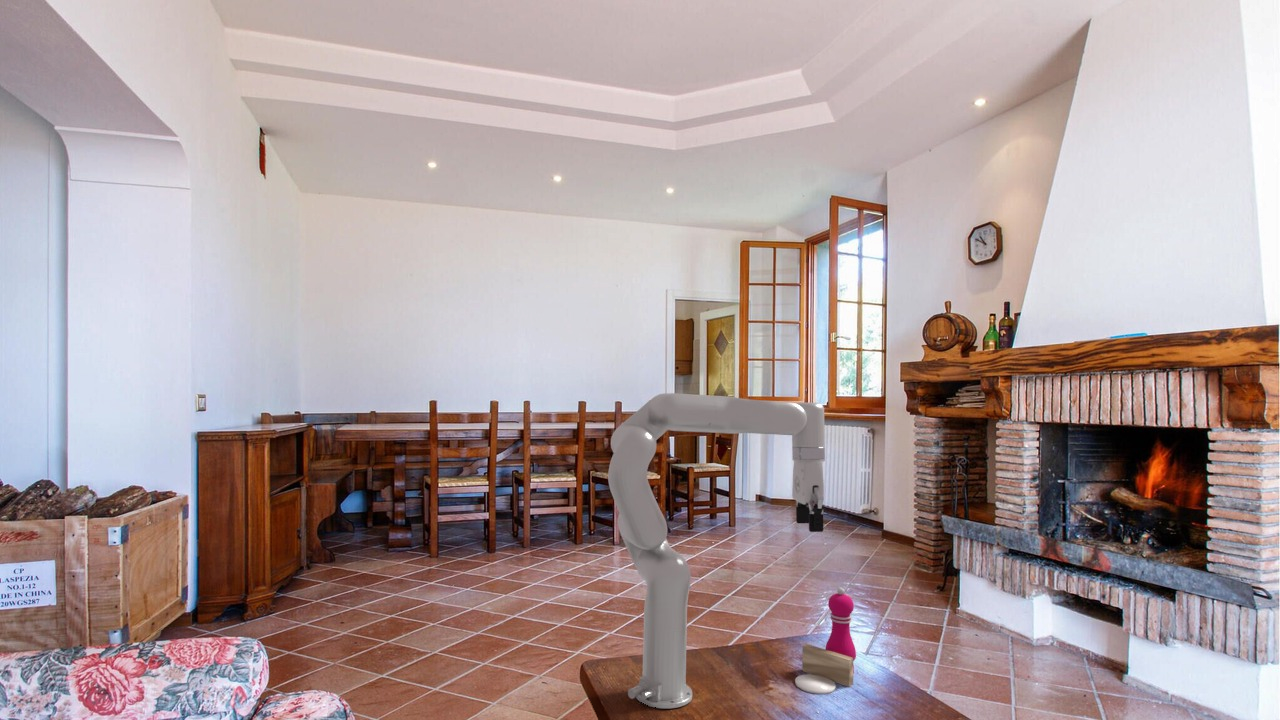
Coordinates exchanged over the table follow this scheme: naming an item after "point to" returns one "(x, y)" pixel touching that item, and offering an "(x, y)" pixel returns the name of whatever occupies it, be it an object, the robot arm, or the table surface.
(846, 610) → the pepper mill
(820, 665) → the oak rail
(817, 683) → the coaster
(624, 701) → the table surface
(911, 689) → the table surface
